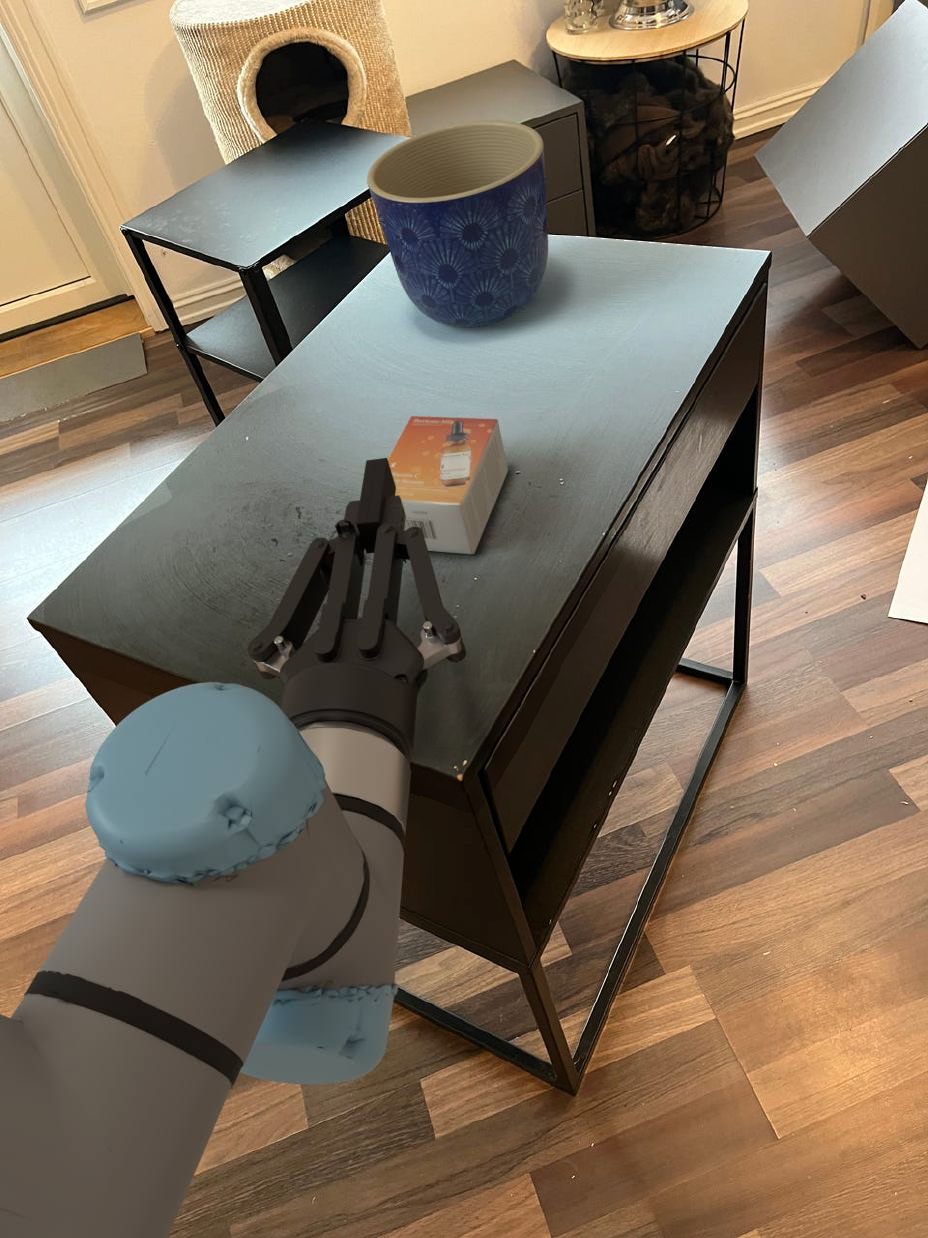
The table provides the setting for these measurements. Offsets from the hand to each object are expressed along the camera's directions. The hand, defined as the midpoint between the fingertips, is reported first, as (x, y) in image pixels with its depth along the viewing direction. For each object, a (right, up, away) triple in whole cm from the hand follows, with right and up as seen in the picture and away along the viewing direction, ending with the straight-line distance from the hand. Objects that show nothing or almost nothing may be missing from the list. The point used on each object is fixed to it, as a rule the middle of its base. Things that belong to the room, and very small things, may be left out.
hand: (381, 474), depth 65 cm
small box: (+2, -3, +7) cm, 8 cm away
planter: (+8, +23, +34) cm, 42 cm away
